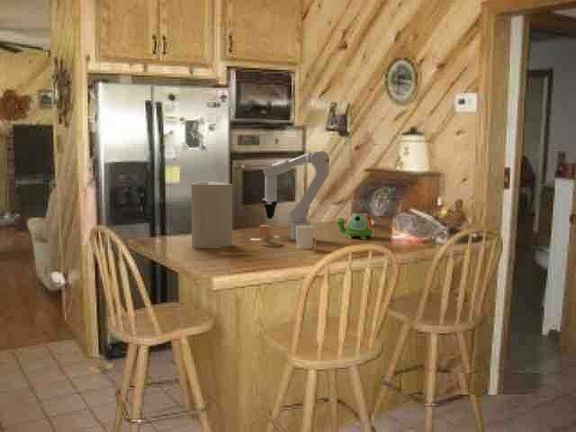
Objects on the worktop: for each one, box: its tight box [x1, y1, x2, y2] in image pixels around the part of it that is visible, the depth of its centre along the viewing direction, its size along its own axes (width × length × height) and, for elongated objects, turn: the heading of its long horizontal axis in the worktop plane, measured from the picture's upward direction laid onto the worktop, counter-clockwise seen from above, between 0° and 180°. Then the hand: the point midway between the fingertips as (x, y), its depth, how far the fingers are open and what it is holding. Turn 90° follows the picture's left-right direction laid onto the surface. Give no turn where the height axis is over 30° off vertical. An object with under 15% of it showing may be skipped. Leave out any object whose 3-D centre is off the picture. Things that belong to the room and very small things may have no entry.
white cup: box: [295, 225, 315, 250], centre depth 263 cm, size 8×8×10 cm
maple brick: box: [259, 235, 280, 247], centre depth 270 cm, size 8×5×4 cm, turn 86°
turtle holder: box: [336, 212, 374, 240], centre depth 295 cm, size 12×18×12 cm
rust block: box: [259, 224, 271, 238], centre depth 269 cm, size 4×4×5 cm
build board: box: [249, 237, 280, 247], centre depth 276 cm, size 18×19×1 cm
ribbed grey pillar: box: [190, 181, 233, 249], centre depth 267 cm, size 19×15×28 cm
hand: (270, 217), depth 291 cm, fingers open, 7 cm apart
